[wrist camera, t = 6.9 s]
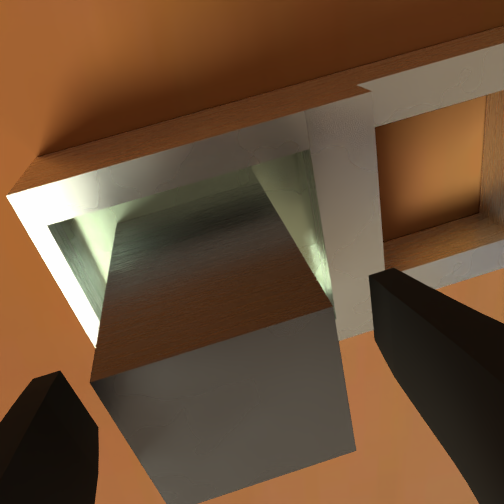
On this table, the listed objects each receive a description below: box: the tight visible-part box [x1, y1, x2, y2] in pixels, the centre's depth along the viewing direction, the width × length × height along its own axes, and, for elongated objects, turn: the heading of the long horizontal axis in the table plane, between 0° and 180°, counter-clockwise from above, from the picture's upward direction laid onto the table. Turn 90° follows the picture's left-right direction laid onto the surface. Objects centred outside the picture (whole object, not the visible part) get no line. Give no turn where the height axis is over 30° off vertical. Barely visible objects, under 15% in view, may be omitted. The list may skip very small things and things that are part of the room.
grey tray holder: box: [7, 26, 504, 348], centre depth 14 cm, size 16×8×3 cm, turn 103°
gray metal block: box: [90, 182, 356, 504], centre depth 11 cm, size 4×4×6 cm
